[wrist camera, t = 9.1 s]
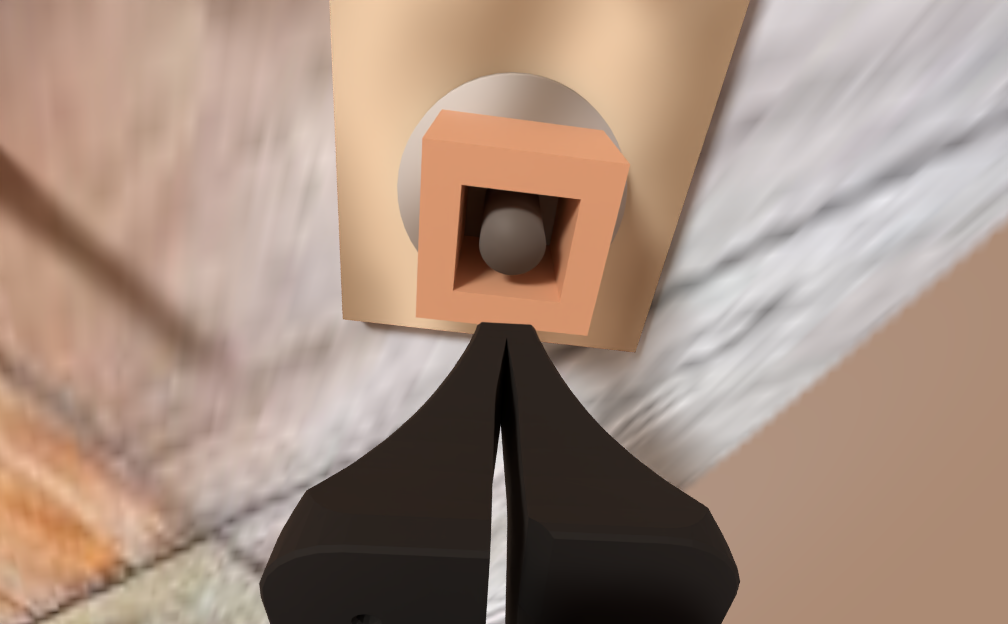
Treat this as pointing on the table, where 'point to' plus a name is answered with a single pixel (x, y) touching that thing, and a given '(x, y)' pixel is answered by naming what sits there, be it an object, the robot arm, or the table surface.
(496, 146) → the collar
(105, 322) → the table surface
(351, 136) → the board
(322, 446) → the table surface
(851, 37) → the table surface
